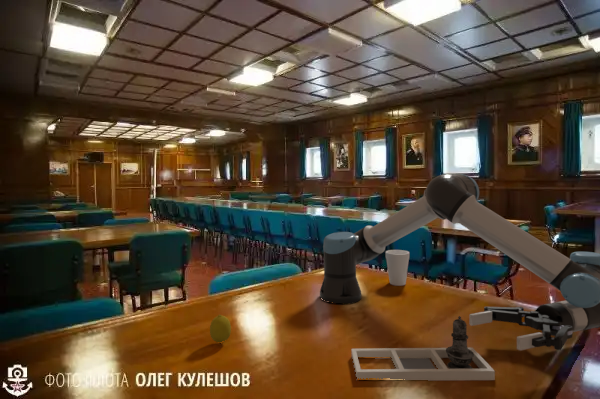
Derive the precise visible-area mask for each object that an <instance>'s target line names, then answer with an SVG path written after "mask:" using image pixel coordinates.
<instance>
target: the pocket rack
mask: <svg viewBox="0 0 600 399" xmlns="http://www.w3.org/2000/svg"><path fill="white" fill-rule="evenodd" d="M447 348H448V347H397V348H394V347H393V348H392V347H390V348H389V347H385V348H382V347H381V348H380V347H379V348H377V347H375V348H371V347H370V348H351V350H350V351H351V360H352V359H353V361H352V364H353V363H354V365H353V369H354V368H355V370H354V373H355V372H356V374H355V378H356V377H357V379H358V378H359V379H360V378H361V379H363V378H364V379H366V378H368V379H369V378H376V379H377V378H379V379H380V378H381V379H383V378H390V379H403V380H404V379H405V380H428V381H495V380H496V379H495V378H496V377H495V376H496V371H495V370H494V368H493V367H492V366H491V365H490V364H489V363H488V362H487V361H486V360H485V359H484V358H483V357H482V355H481V354H480V353H478V352H477V351H476V350H475V348H474V347H467V348H468V349H469V350H471V351H472V352H473V353H474V357H473V358H472V362H473V363H474V364H475V366H477V367H478V368H472V369H449V368H448V366H447V365H446V364H445V363H444V361H443V360H442V359H449V358H448V355H447V353H446V349H447ZM358 357H391V358H392V359H391V358H390V359H391V362H392V361H393V362H392V364H393V363H394V364H393V366H394V365H395V366H394V368H390V369H389V368H384V369H383V368H380V369H379V368H377V369H370V368H369V369H368V368H367V369H363V368H362V367H361V365H360V360H359V359H358ZM399 357H400V358H399ZM433 362H434V363H433ZM435 365H436V366H435ZM395 367H396V368H395ZM437 368H438V369H437ZM357 379H356V380H357Z"/></svg>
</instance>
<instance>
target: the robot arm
mask: <svg viewBox="0 0 600 399" xmlns="http://www.w3.org/2000/svg"><path fill="white" fill-rule="evenodd" d="M479 196H480V187H479V185H478V183H477V181H476V180H475V179H473V178H472V177H471V176H469V175H466V174H463V173H455V174H454V173H453V174H449V173H448V174H441V175H438V176H436V177H434V178H432V179H431V180H430V181H429V182H428V184H427V185H426V188H425V189H424V192H423V196H422V197H419V198H418V199H416V200H415V201H413V202H411V203H410V204H408V205H407V206H404V208H402V209H400V210H398V211H397V212H395V213H393V214H392V215H390V216H389V217H387V218H386V219H384V220H382V221H380V222H379V223H377V224H376V225H374V226H373V225H366V226H364V227H363V228H360V229H359V230H358V231H356V232H354V233H353V232H352V231H351V232H349V231H338V232H333V233H330V234H327V235H326V236H325V237H324V239H323V246H322V248H323V249H322V250H323V279H322V282H321V283H322V284H321V287H320V290H319V298H320V297H321V298H322V299H323V300H325V301H329V302H333V303H350V304H355V303H357V302H359V301H360V300H361V299H362V291H361V287H360V284H359V282H358V279H357V265H360V264H362V263H364V262H365V263H366V262H370V261H372V260H374V259H376V258H377V257H378V256H379V255H381V254H383V253H385V251H386V247H387V246H389V245H392V243H395V242H396V241H398V240H399V239H401V238H403V237H405V236H407V235H409V234H411V233H412V232H415V231H416V230H418V229H420V228H422V227H424V226H426V225H428V224H429V223H431V222H433V221H435V220H436V219H440V220H447V221H448V222H450V223H451V224H453V225H455V224H460V225H461V226H463V227H464V228H466V229H467V230H469V231H470V232H472V233H473V234H475V236H478V237H479V238H481V240H483V241H485V242H487V243H488V244H490V245H491V246H492V247H494V248H495V249H497V250H498V251H500V252H501V253H503V254H505V255H506V256H507V257H509V258H510V259H512V260H514V261H515V262H517V263H518V264H520V265H521V266H522V267H524V268H525V269H527V270H529V271H530V272H532V273H533V274H535V276H537V277H539V278H540V279H542V280H543V281H545V282H546V283H548V284H549V285H551V286H552V287H553V288H555V289H556V290H558V291H559V292H560V294H561V296H562V297H563V299H564V300H561V301H556V302H550V303H545V304H541V305H539V306H538V307H537V308H536V309H535V310H530V311H526V310H524V307H522V306H515V307H512V306H511V307H509V306H507V307H505V306H484V308H483V310H484V311H479V312H475V313H469V316H468V317H469V319H468V320H469V322H468V323H469V324H468V325H469V326H471V327H472V326H478V325H484V324H488V323H489V324H491V323H493V321H495V322H506V323H514V324H518V325H519V326H521V327H528V328H529V327H530V328H532V329H534V330H536V331H538V332H534V333H529V334H524V335H519V336H516V350H518V351H525V350H528V349H533V348H540V347H548V348H551V347H553V349H554V350H557V351H561V350H562V349H563V347H564V345H565V344H566V342H567V341H568V340H569V339H572V338H573V333H576V332H580V331H586V330H591V329H598V328H599V329H600V253H599V252H592V251H574V252H571V253H570V255H569V257H568V256H566V255H564V254H563V253H561V252H559V251H558V250H556V249H555V248H553V247H551V246H550V245H548V244H546V243H545V242H543V241H542V240H540V239H538V238H537V237H536V236H533V235H532V234H530V233H529V232H527V231H526V230H524V229H522V228H521V227H519V226H517V225H515V224H514V223H512V222H511V221H509V220H508V219H506V218H504V217H503V216H501V215H499V214H498V213H496V212H495V211H493V210H491V209H490V208H488V207H486V206H485V205H483V204H481V202H479V201H478V200H479V198H480V197H479ZM323 300H322V301H323ZM325 301H324V302H325ZM354 302H355V303H354ZM523 319H524V320H523ZM539 331H541V332H539ZM552 336H554V337H552Z"/></svg>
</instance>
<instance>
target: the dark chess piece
mask: <svg viewBox="0 0 600 399" xmlns="http://www.w3.org/2000/svg"><path fill="white" fill-rule="evenodd" d="M467 326H468V325H467V323H466V321H465V320H463V319H462V317H461V316H460V315H459V316H458V317H457V319H454V320H453V323H452V333H451V334H450V335H451V337H452V344H451V346H448V347H446V348H447V349H446V353H447V355H448V358H447V359H448V360H449V361H448V363H447V365H446V367H447V368H448V369H473V367H472V366H471V365H470V364H471V363H472V362H473V360H472V358H473V357H474V353H473V352H472V351H471V350H469V349H468V348H469V347H468V343H467V342H468V339H469V335H467V334H468V333H467V332H468V331H467Z"/></svg>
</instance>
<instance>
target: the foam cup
mask: <svg viewBox="0 0 600 399" xmlns="http://www.w3.org/2000/svg"><path fill="white" fill-rule="evenodd" d="M409 260H410V251H408V250H404V249H403V250H402V249H388V250H385V261H386V267H387V272H388V279H389V284H390V285H392V286H396V287H398V286H399V287H400V286H401V287H402V286H405V285H406V284H407V277H408V276H407V275H408V268H409V263H410V262H409Z"/></svg>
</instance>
